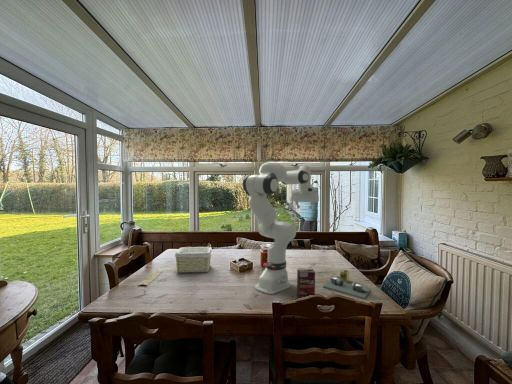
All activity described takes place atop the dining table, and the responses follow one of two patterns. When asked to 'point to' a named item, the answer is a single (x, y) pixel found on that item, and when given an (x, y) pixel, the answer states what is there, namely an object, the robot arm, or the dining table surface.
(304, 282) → the supplement box
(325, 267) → the dining table surface
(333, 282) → the shaft
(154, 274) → the newspaper
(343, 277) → the coupler
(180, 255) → the storage basket
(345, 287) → the bench plate
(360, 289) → the shaft
